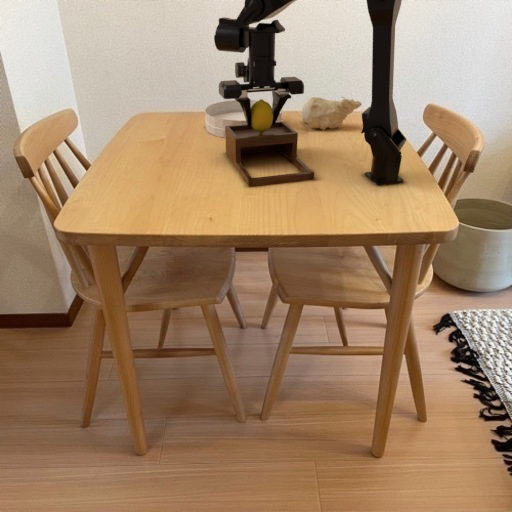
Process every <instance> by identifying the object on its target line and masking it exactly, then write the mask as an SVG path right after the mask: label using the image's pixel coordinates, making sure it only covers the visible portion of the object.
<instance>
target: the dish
mask: <svg viewBox="0 0 512 512" xmlns="http://www.w3.org/2000/svg"><path fill="white" fill-rule="evenodd" d="M257 101H258V100H255V99H254V100H253V99H250V105H251V107H252V105H253V104H254V103H255V102H257ZM266 102H267V103H268V104H269V105H270V106H271V108H272V105H273V102H268V101H266ZM204 112H205V113H204V114H205V118H204V124H205V131H206V132H207V133H208V134H210V135H212V136H215V137H219V138H222V139H226V135H225V126H232V125H244V124H247V122H246V119H245V116H244V113H243V110H242V107H241V105H240V103H239V102H237V101H236V100H235V99H231V100H225V101H218V102H216V103H213V104H210V105H208V106H207V107H206V108H205V109H204ZM282 114H283V108H282V109H281V111H280V114H279V116H278V118H277V120H276V122H280V121H283V118H282Z"/></svg>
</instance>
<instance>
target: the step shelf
mask: <svg viewBox="0 0 512 512" xmlns="http://www.w3.org/2000/svg"><path fill="white" fill-rule="evenodd" d="M225 135H226V138H225V154H226V156H227V158H228V159H229V160H230V162H231V163H232V165H233V166H234V167H235V170H236V171H237V172H238V174H239V175H240V176H241V178H242V179H243V180H244V182H245V184H246V185H247V186H248V187H257V186H258V187H259V186H266V185H275V184H283V183H290V182H292V183H293V182H302V181H310V180H315V171H313V170H312V169H311V168H310V167H309V166H308V165H307V164H305V162H304V161H302V159H301V158H300V157H299V156H298V140H299V132H298V131H296V130H295V129H293V127H292V126H290V125H289V124H288V123H287V122H286V121H284V120H282V121H280V122H275V124H274V125H273V124H272V125H271V127H270V128H269V129H268V130H266V131H264V132H263V133H262V134H260V133H259V132H258V131H256V130H255V129H253V127H252V126H250V127H249V126H248V125H247V124H244V125H232V126H225ZM274 151H275V152H276V151H280V152H281V153H282V154H283V155H284V156H285V157H286V158H287V159H288V161H290V162H291V163H293V164H294V165H295V166H296V168H298V169H299V171H301V172H295V173H285V174H276V175H275V174H274V175H268V176H267V175H266V176H258V177H252V176H251V174H250V173H249V172H248V170H247V169H246V168H245V167H244V165H243V164H242V160H241V158H242V155H244V154H255V153H265V152H274Z"/></svg>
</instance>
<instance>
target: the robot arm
mask: <svg viewBox="0 0 512 512" xmlns="http://www.w3.org/2000/svg"><path fill="white" fill-rule="evenodd" d="M296 1H298V0H244V6H243V8H242V9H241V11H240V12H239V14H238V16H237V18H230V17H224V16H223V17H219V18H218V25H217V26H216V29H215V33H214V35H213V38H214V39H213V41H214V45H215V48H216V49H217V51H219V52H228V53H241V54H243V53H244V52H246V50H247V49H248V57H247V60H246V61H247V64H245V62H244V61H242V62H239V61H238V62H235V63H234V73H235V75H234V76H235V78H236V79H243V83H240V82H239V81H238V80H236V79H233V80H221V81H220V82H219V83H218V94H219V95H220V96H221V97H222V98H223V99H224V100H236V101H237V102H239V103H240V105H241V107H242V110H243V113H244V116H245V119H246V122H247V125H248V126H249V127H250V126H251V105H250V100H251V98H249V96H248V93H262V92H271V96H272V104H273V105H272V111H273V122H272V124H273V125H274V124H275V122H276V120H277V118H278V116H279V114H280V111H281V109H282V110H283V108H284V107H285V104H286V103H287V102H288V100H290V99H292V96H293V95H303V94H304V93H305V84H304V82H303V80H302V79H300V78H299V77H297V76H284V77H283V76H282V77H281V78H280V80H279V81H277V80H275V67H276V66H277V60H276V34H281V33H284V32H286V28H285V27H284V26H283V25H282V24H281V23H280V20H279V19H273V18H274V17H276V16H277V15H279V14H280V13H282V12H283V11H285V10H286V9H287V8H288V7H290V6H291V5H292V4H293V3H295V2H296ZM402 1H403V0H366V6H367V12H368V16H369V20H370V22H371V27H372V53H371V54H372V55H371V57H372V58H371V59H372V61H371V102H370V106H368V107H367V108H366V109H365V110H364V111H363V112H362V113H361V121H362V129H361V131H360V134H363V136H364V140H365V142H366V143H367V144H368V145H369V146H370V151H371V154H372V158H371V159H372V160H371V166H370V171H366V172H364V176H365V177H367V178H368V179H369V180H370V181H371V182H373V183H374V184H375V185H377V186H383V185H384V186H385V185H392V184H393V185H394V184H400V183H404V181H405V180H404V178H403V177H401V176H399V175H400V170H401V163H402V158H403V155H402V151H401V150H402V149H403V147H404V145H405V143H406V142H407V138H406V136H405V135H404V134H403V133H402V131H401V130H400V129H399V122H398V115H397V109H396V105H395V102H394V74H395V73H394V71H395V70H394V69H395V48H396V47H395V44H396V43H395V42H396V24H397V20H398V17H399V13H400V11H401V10H400V9H401V5H402ZM269 19H273V20H272V21H271V22H269V23H268V22H262V21H264V20H269ZM254 24H257V25H256V26H250V25H254Z"/></svg>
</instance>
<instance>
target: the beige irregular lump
mask: <svg viewBox="0 0 512 512" xmlns="http://www.w3.org/2000/svg"><path fill="white" fill-rule="evenodd" d="M340 98H341V100H336V99H335V100H334V99H325V98H322V97H316V96H314V97H310V98H308V99H307V100H306V101H305V102H304V103H303V105H302V107H301V114H300V115H301V120H302V121H303V123H306V124H307V125H308V127H310V128H311V129H320V130H322V131H325V130H326V129H327V128H329V129H330V130H331V129H332V130H333V129H335V128H340V127H341V125H342V124H343V121H345V120H346V118H347V117H348V116H349V115H350V114H351V113H353V112H354V111H355V110H357V109H358V108H361V106H362V104H363V103H362V102H361V101H359V100H354V99H353V98H351V99H348V98H345V97H344V96H341V97H340Z"/></svg>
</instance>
